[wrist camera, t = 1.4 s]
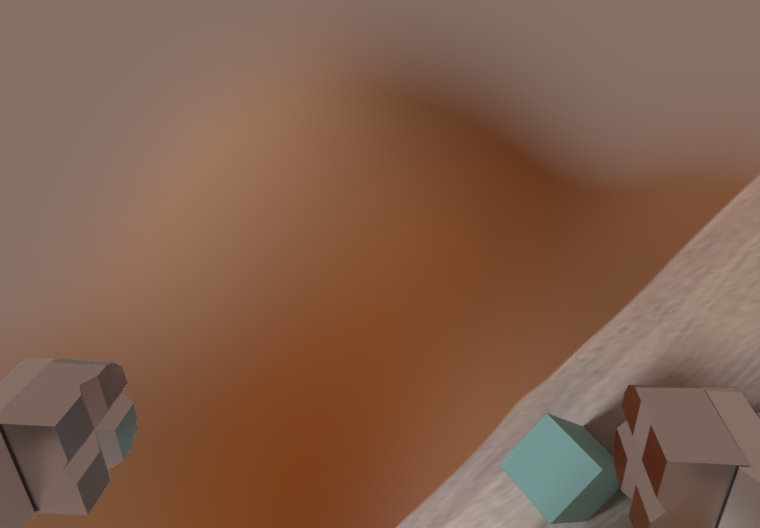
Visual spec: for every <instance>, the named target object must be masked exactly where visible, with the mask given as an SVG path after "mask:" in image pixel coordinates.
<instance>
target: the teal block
mask: <svg viewBox="0 0 760 528" xmlns="http://www.w3.org/2000/svg"><path fill="white" fill-rule="evenodd" d="M499 465H500V466H501V467H502V468H503V470H504V471H505V472H506V473H507V474H508V475H509V477H510V478H511V479H512V480H513V481H514V482H515V484H516V485H517V486H518V487H519V488H520V489H521V491H522V492H523V493H524V494H525V495H526V496H527V498H528V499H529V500H530V501H531V502H532V503H533V505H534V506H535V507H536V508H537V509H538V510H539V512H540V513H541V514H542V515H543V516H544V517H545V519H546V520H547V521H548V522H549V523H550V524H557V523H569V522H582V521H588V520H589V519H590V518H591V517H592V516H593V515H594V514H595V513H596V512H597V511H598V510H599V509H600V508H601V507H602V506H603V505H604V504H605V503H606V502H607V501H608V500H609V499H610V498H611V497H612V496H613V495H614V494H615V492H616V491H617V490H618V489H619V488H620V486H619V483H618V479H617V475H616V470H615V464H614V456H613V455H612V454H611V453H609V452H608V451H607V450H606V449H605V448H604V447H603V446H602V445H601V444H600V443H599V442H598V441H597V440H596V439H595V438H594V437H593V436H592V435H591V434H590V433H589V432H588V431H587V430H586V429H585V428H584V427H583V426H580V425H577V424H575V423H572V422H569V421H566V420H564V419H561V418H558V417H556V416H553V415H550V414H546V415H545V416H544V417H543V418H542V419H541V420H540V421H539V422H538V423H537V424H536V426H535V427H534V428H533V429H532V430H531V431H530V432H529V433H528V434H527V435H526V436H525V437H524V438H523V439H522V441H521V442H520V443H519V444H518V445H517V446H516V447H515V448H514V449H513V450H512V451H511V452H510V453H509V454H508V456H507V457H506V458H505V459H504V460H503V461H502V462H501V463H500V464H499Z"/></svg>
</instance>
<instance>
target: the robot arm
mask: <svg viewBox="0 0 760 528" xmlns="http://www.w3.org/2000/svg"><path fill="white" fill-rule="evenodd" d="M126 384H127V380H126V377H125V374H124V371H123V368H122V366H120V365H118V364H116V363H114V362H101V361H85V360H71V359H70V360H69V359H50V358H30V359H26V360H23V361H21V362H20V363H19V364H18V365H17V366H16V367H15V368H14V369H13V370H12V371H11V372H10V373H9V374H8V375H6V376H5V377H4V378H3V379H2V380H1V381H0V528H21V527H22V526H23V525H24V524H26V523H27V522H28V521H30V520H31V519H33V518H34V517H35V516H36V513H55V514H78V515H88V514H89V512H90V511H91V509H92V508H93V506H94V505H95V503H96V501H97V500H98V498H99V497H100V496H101V494H102V492H103V491H104V489H105V488H106V486H107V484H108V483H109V482H110V479H109V474H108V469H110V468H112V467H113V466H115V465H116V464H118V463H119V462H121V461H123V460H124V458H125V457H126V455H127V453H128V452H129V450H130V449H131V447H132V445H133V441H134V437H135V434H136V430H137V415H136V411H135V407H134V404H133V403H132V402H131V401H130V400H129V399H128V398H127V397H126V396H125V395H124V394H123V393H122V391H123V389H124V388H125V386H126ZM622 408H623V411H624V414H625V416H626V419H627V420H626V421H625V422H624V423H623V424H621V425H620V426H619V427H618V428H617V431H616V437H615V443H614V464H615V470H616V475H617V479H618V483H619V486H620V489H621V491H622V492H623V493H624V494H625V495H627V496H628V497H629V498H630V499H631V500H632V504H631V508H630V512H629V518H630V521H631V524H632V527H633V528H760V419H759V418H758V416H757V415H756V413H755V412H754V410H753V409H752V407H751V406H750V404H749V403H748V401H747V400H746V398H745V397H744V395H743V394H742V393H741V392H740V391H739V390H737V389H736V388H733V387H698V388H690V387H664V386H638V385H628V387H627V389H626V391H625V393H624V397H623V402H622Z"/></svg>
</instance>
